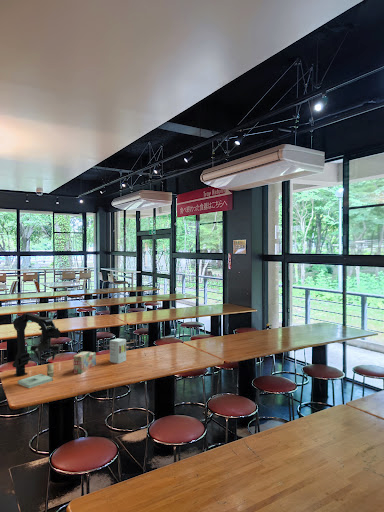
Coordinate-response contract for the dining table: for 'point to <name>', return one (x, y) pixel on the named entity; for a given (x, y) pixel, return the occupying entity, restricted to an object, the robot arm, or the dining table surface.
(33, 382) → the board
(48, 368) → the peg
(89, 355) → the beige multicoloured rectangular block
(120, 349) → the supplement box
